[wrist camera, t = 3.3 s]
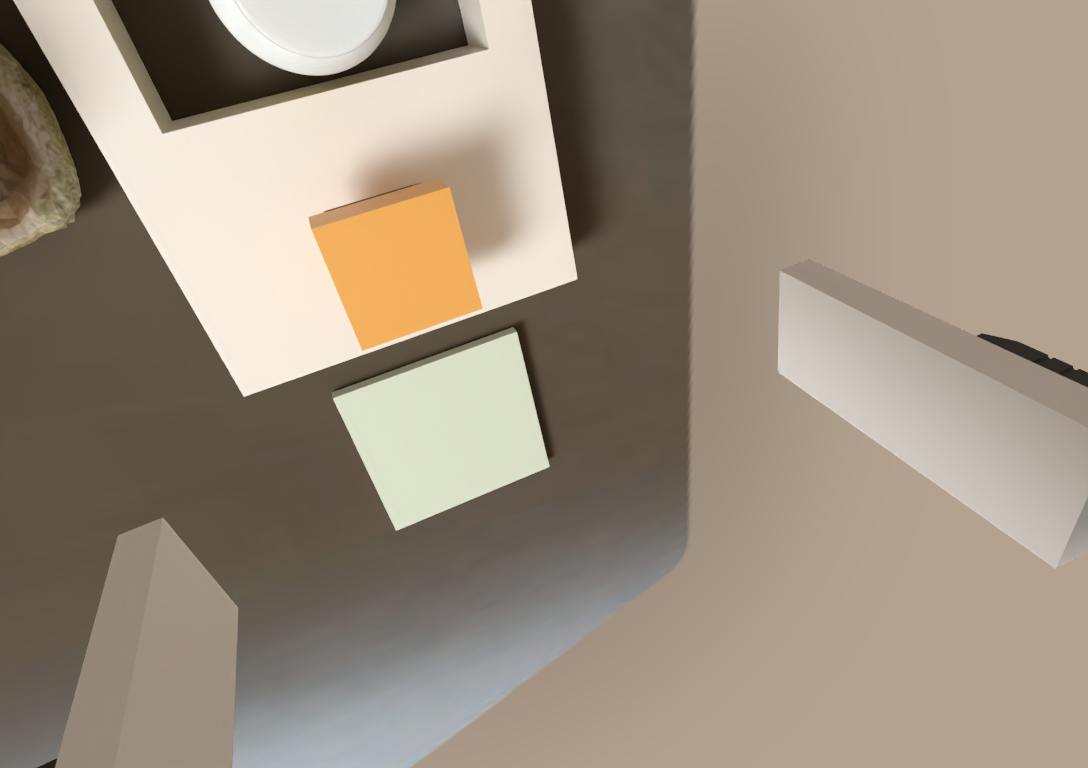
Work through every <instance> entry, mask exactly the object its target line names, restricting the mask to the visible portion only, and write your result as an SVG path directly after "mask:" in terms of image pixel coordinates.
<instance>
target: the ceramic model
mask: <svg viewBox="0 0 1088 768" xmlns="http://www.w3.org/2000/svg"><path fill="white" fill-rule="evenodd" d="M80 197H81V190H80V185H79V179H78V177H77V171H76V168H75V165H74V162H73V159H72V157H71V154H70V151H69V148H68V146H67V143H66V140H65V138H64V135H63V133H62V131H61V129H60V126H59V124H58V121H57V119H56V116H55V114H54V112H53V110H52V109H51V107H50V105H49V103H48V101H47V99H46V97H45V95H44V93H43V92H42V90H41V89H40V88H39V86H38V85H37V83H36V82H35V81H34V80H33V79H32V77H31V76H30V75H29V74H28V72H27V71H25V70H24V69H23V68H22V65H21V64H20V63H19V62H18V61H17V60H16V59H15V58H14V57H13V56H12V55H11V53H10V52H9V51H8V50H7V49H6V48H5V47H4V46H3V45H2V44H1V43H0V257H1V256H4V255H6V254H9V253H11V252H13V251H15V250H16V249H18V248H20V247H24V246H26V245H28V244H30V243H32V242H34V241H35V240H36V239H38V238H39V237H41V236H43V235H45V234H46V233H50V232H53V231H57V230H60V229H63V228H67V224H69V223H72V222H75V212H76V210H77V209H78V208H79V207H80Z"/></svg>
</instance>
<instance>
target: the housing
mask: <svg viewBox="0 0 1088 768" xmlns="http://www.w3.org/2000/svg"><path fill="white" fill-rule="evenodd" d="M13 1H14V3H15V4H16V6H17V8H18V9H19V11H20V13H21V15H22V16H23V18H24V20H25V21H26V23H27V25H28V27H29V28H30V30H31V32H32V33H33V35H34V37H35V39H36V40H37V42H38V44H39V45H40V47H41V49H42V51H43V52H44V54H45V56H46V57H47V59H48V61H49V63H50V64H51V66H52V68H53V70H54V71H55V73H56V75H57V76H58V78H59V80H60V82H61V83H62V85H63V87H64V88H65V90H66V92H67V94H68V95H69V97H70V99H71V100H72V102H73V104H74V106H75V107H76V109H77V111H78V112H79V114H80V116H81V118H82V119H83V121H84V123H85V124H86V126H87V128H88V130H89V131H90V133H91V135H92V137H93V138H94V140H95V142H96V143H97V145H98V147H99V149H100V150H101V152H102V154H103V155H104V157H105V159H106V161H107V162H108V164H109V166H110V167H111V169H112V171H113V173H114V174H115V176H116V178H117V179H118V181H119V183H120V185H121V186H122V188H123V190H124V191H125V193H126V195H127V197H128V198H129V200H130V202H131V204H132V205H133V207H134V209H135V210H136V212H137V214H138V216H139V217H140V219H141V221H142V222H143V224H144V226H145V228H146V229H147V231H148V233H149V234H150V236H151V238H152V240H153V241H154V243H155V245H156V246H157V248H158V250H159V252H160V253H161V255H162V257H163V258H164V260H165V262H166V264H167V265H168V267H169V269H170V271H171V272H172V274H173V276H174V277H175V279H176V281H177V283H178V284H179V286H180V288H181V289H182V291H183V293H184V295H185V296H186V298H187V300H188V301H189V303H190V305H191V307H192V308H193V310H194V312H195V313H196V315H197V317H198V319H199V320H200V322H201V324H202V325H203V327H204V329H205V331H206V332H207V334H208V336H209V338H210V339H211V341H212V343H213V344H214V346H215V348H216V350H217V351H218V353H219V355H220V356H221V358H222V360H223V362H224V363H225V365H226V367H227V368H228V370H229V372H230V374H231V375H232V377H233V379H234V380H235V382H236V384H237V386H238V387H239V389H240V391H241V392H242V394H243V396H244V397H245V396H247V395H250V394H253V393H256V392H259V391H262V390H264V389H267V388H270V387H273V386H276V385H279V384H281V383H284V382H287V381H290V380H293V379H296V378H298V377H301V376H304V375H307V374H310V373H313V372H315V371H318V370H321V369H324V368H327V367H330V366H333V365H335V364H338V363H341V362H344V361H347V360H350V359H352V358H355V357H358V356H361V355H364V354H367V353H369V352H372V351H375V350H378V349H381V348H384V347H386V346H389V345H392V344H395V343H398V342H401V341H403V340H406V339H409V338H412V337H415V336H418V335H421V334H423V333H426V332H429V331H432V330H435V329H438V328H440V327H443V326H446V325H449V324H452V323H455V322H457V321H460V320H463V319H466V318H469V317H472V316H474V315H477V314H480V313H483V312H486V311H489V310H491V309H494V308H497V307H500V306H503V305H506V304H508V303H511V302H514V301H517V300H520V299H523V298H526V297H528V296H531V295H534V294H537V293H540V292H543V291H545V290H548V289H551V288H554V287H557V286H560V285H562V284H565V283H568V282H571V281H574V280H577V274H576V268H575V262H574V256H573V250H572V243H571V237H570V231H569V225H568V219H567V213H566V207H565V201H564V195H563V189H562V183H561V177H560V171H559V165H558V159H557V153H556V147H555V141H554V135H553V129H552V123H551V117H550V111H549V105H548V99H547V93H546V87H545V81H544V75H543V69H542V63H541V57H540V51H539V45H538V39H537V33H536V27H535V21H534V15H533V9H532V3H531V0H458V2H459V7H460V11H461V16H462V20H463V25H464V29H465V34H466V38H467V43H468V45H467V46H463V47H459V48H455V49H451V50H447V51H444V52H440V53H436V54H432V55H428V56H424V57H420V58H416V59H412V60H408V61H405V62H401V63H397V64H393V65H389V66H385V67H381V68H377V69H373V70H369V71H365V72H362V73H358V74H354V75H350V76H346V77H342V78H338V79H334V80H330V81H326V82H322V83H319V84H315V85H311V86H307V87H303V88H299V89H295V90H291V91H287V92H283V93H280V94H276V95H272V96H268V97H264V98H260V99H256V100H252V101H248V102H244V103H240V104H237V105H233V106H229V107H225V108H221V109H217V110H213V111H209V112H205V113H201V114H198V115H194V116H190V117H186V118H182V119H178V120H174V121H172V120H171V118H170V116H169V114H168V112H167V110H166V108H165V106H164V104H163V102H162V100H161V98H160V96H159V94H158V92H157V90H156V88H155V86H154V84H153V82H152V80H151V78H150V76H149V74H148V72H147V70H146V68H145V66H144V64H143V62H142V60H141V58H140V56H139V54H138V52H137V50H136V48H135V46H134V44H133V42H132V40H131V38H130V36H129V34H128V32H127V30H126V28H125V26H124V24H123V22H122V20H121V18H120V16H119V14H118V12H117V10H116V8H115V6H114V4H113V2H112V0H13ZM437 178H441V179H442V180H443V181H444V182H445V183H446V184H447V185H448V186H449V187H450V190H451V194H452V198H453V201H454V205H455V209H456V212H457V216H458V220H459V223H460V227H461V231H462V234H463V238H464V242H465V245H466V249H467V253H468V256H469V260H470V264H471V267H472V271H473V275H474V279H475V282H476V286H477V290H478V293H479V297H480V301H481V304H482V308H483V309H480V310H477V311H474V312H472V313H469V314H466V315H463V316H460V317H457V318H454V319H452V320H449V321H446V322H443V323H440V324H437V325H434V326H432V327H429V328H426V329H423V330H420V331H417V332H415V333H412V334H409V335H406V336H403V337H400V338H397V339H395V340H392V341H389V342H386V343H383V344H380V345H377V346H375V347H372V348H369V349H366V350H363V351H362V349H361V347H360V344H359V342H358V340H357V337H356V335H355V332H354V330H353V328H352V325H351V323H350V320H349V318H348V316H347V313H346V311H345V309H344V306H343V304H342V301H341V299H340V297H339V294H338V292H337V290H336V287H335V285H334V282H333V280H332V278H331V275H330V273H329V270H328V268H327V266H326V263H325V261H324V259H323V256H322V254H321V251H320V249H319V247H318V244H317V242H316V240H315V237H314V235H313V232H312V230H311V226H310V222H309V218H308V217H311V216H314V215H317V214H321V213H324V211H327V210H330V209H333V208H337V207H340V206H343V205H347V204H350V203H353V202H357V201H360V200H364V199H367V198H370V197H374V196H377V195H380V194H384V193H387V192H390V191H394V190H397V189H400V188H404V187H407V186H410V185H412V186H414V185H417V184H421V183H424V182H427V181H431V180H434V179H437Z"/></svg>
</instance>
